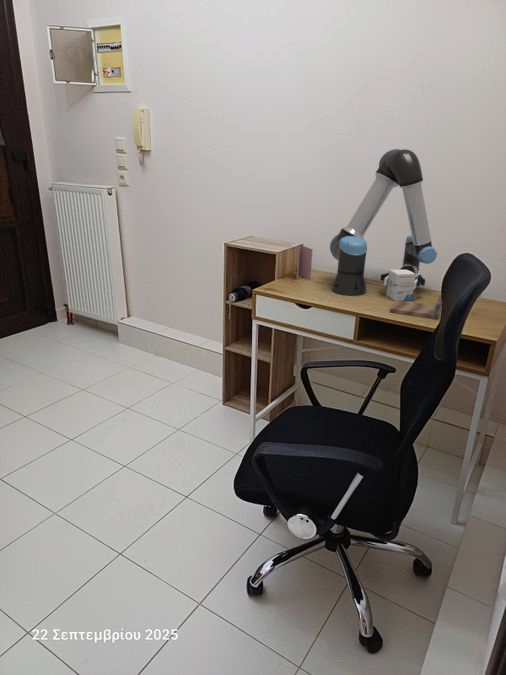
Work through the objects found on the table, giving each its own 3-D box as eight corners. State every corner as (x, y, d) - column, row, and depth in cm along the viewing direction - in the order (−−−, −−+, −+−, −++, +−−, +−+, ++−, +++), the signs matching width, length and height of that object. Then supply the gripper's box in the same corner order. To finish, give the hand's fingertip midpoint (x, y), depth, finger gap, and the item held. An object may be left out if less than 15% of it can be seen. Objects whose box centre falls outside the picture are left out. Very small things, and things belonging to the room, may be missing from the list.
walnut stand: (389, 312, 190) (391, 297, 188) (395, 303, 202) (397, 289, 200) (437, 319, 183) (440, 304, 181) (441, 309, 195) (443, 295, 193)
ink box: (403, 294, 214) (407, 268, 210) (412, 300, 206) (416, 273, 202) (385, 295, 213) (388, 269, 209) (393, 300, 205) (397, 273, 201)
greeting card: (297, 274, 245) (299, 245, 240) (312, 275, 244) (314, 245, 238) (294, 280, 235) (296, 249, 229) (310, 281, 233) (312, 250, 228)
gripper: (433, 284, 219) (427, 296, 201) (380, 278, 228) (370, 288, 210) (435, 268, 217) (430, 278, 198) (382, 262, 226) (372, 271, 207)
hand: (399, 284), depth 204 cm, fingers closed on ink box, 11 cm apart
